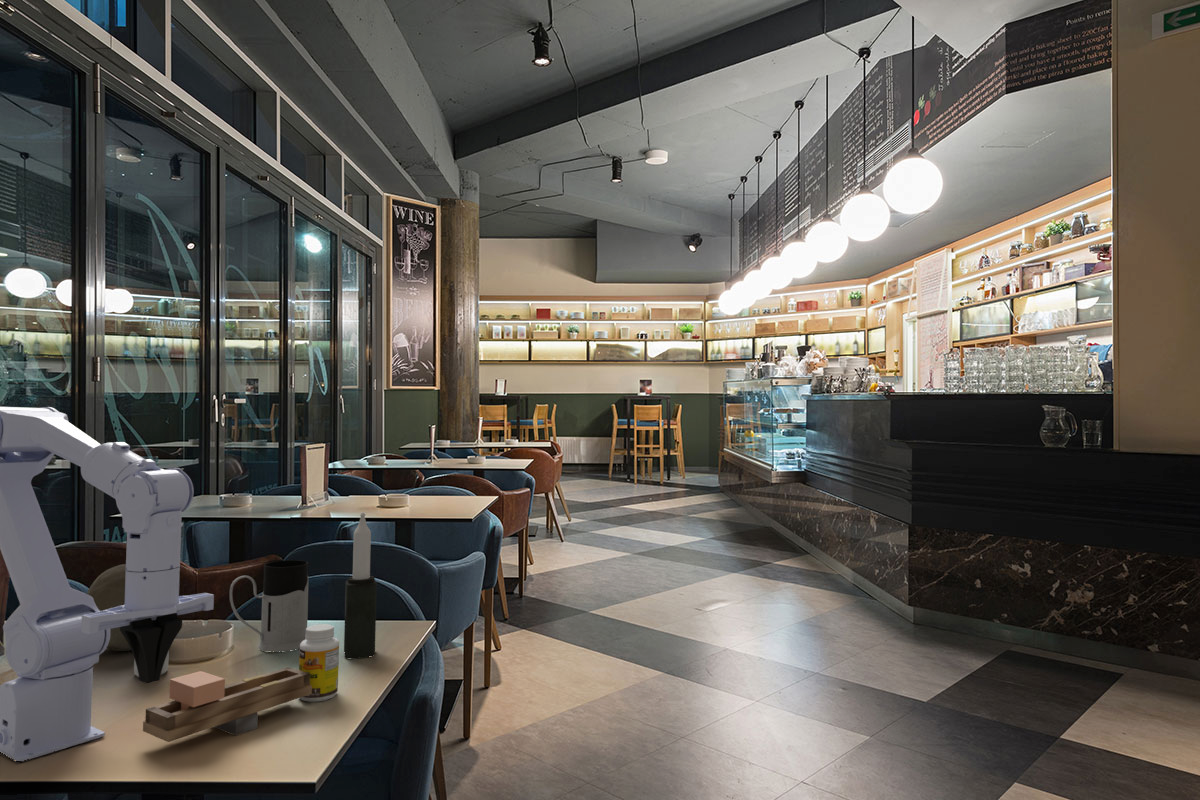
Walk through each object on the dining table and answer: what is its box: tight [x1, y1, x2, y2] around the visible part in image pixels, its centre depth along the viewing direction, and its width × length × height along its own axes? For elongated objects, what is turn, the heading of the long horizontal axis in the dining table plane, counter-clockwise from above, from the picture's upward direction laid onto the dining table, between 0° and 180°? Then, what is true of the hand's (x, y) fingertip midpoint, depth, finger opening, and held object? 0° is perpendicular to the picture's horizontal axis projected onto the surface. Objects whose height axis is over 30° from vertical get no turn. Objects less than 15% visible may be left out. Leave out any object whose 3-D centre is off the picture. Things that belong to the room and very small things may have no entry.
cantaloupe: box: [86, 563, 131, 652], centre depth 134 cm, size 14×14×15 cm
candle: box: [343, 512, 378, 659], centre depth 132 cm, size 5×5×25 cm
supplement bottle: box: [298, 623, 340, 703], centre depth 111 cm, size 6×6×10 cm
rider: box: [168, 670, 226, 710], centre depth 95 cm, size 4×6×4 cm
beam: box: [142, 666, 312, 743], centre depth 99 cm, size 20×6×5 cm, turn 148°
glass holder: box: [229, 559, 309, 653], centre depth 135 cm, size 9×14×15 cm, turn 137°
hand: (149, 680), depth 90 cm, fingers closed
